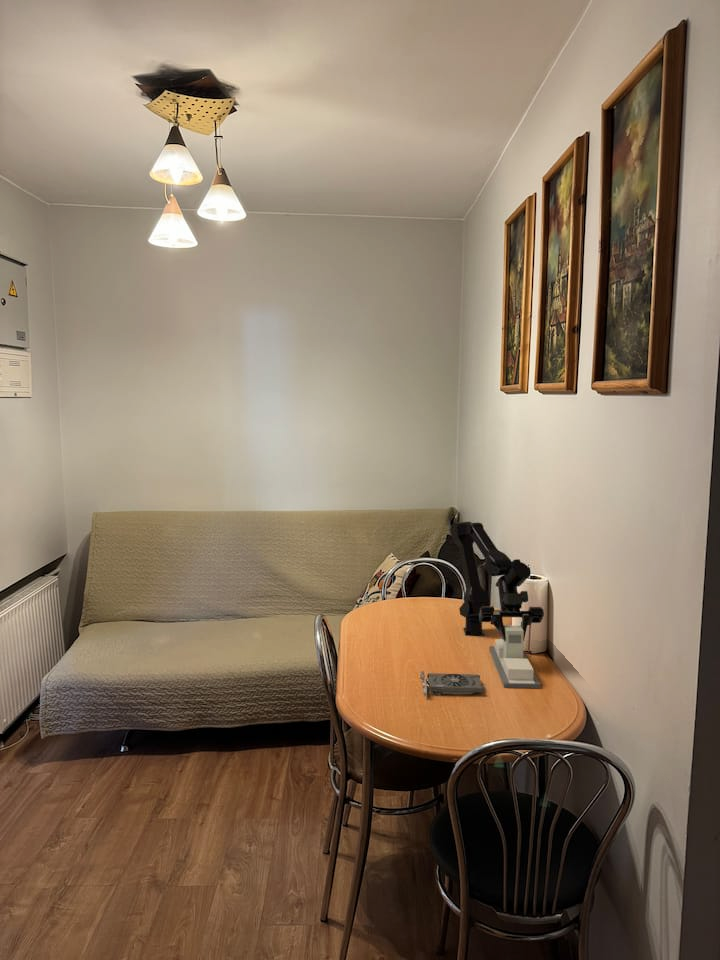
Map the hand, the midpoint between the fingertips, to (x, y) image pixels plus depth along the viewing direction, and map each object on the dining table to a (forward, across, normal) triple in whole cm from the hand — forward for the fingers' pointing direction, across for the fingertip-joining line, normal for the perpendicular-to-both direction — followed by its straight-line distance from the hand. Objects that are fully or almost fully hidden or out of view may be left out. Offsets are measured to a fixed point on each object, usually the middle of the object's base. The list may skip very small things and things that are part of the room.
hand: (514, 640), depth 186 cm
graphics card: (+17, -20, -4) cm, 26 cm away
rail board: (+5, 0, +7) cm, 9 cm away
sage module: (+4, 0, +6) cm, 7 cm away
